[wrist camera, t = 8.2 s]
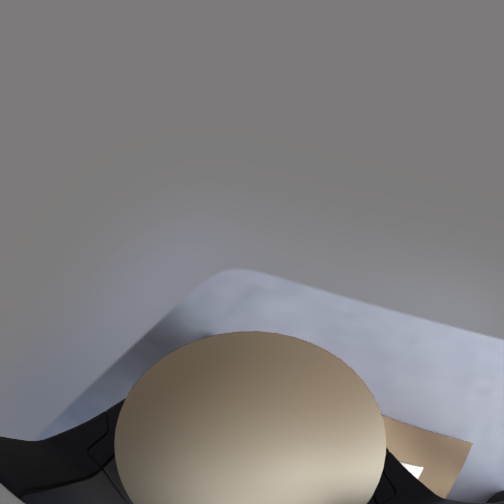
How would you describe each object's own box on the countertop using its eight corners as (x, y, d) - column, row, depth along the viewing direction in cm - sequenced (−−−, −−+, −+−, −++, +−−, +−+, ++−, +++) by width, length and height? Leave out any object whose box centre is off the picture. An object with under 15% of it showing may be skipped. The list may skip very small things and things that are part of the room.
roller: (295, 444, 12) (385, 532, 3) (207, 451, 12) (137, 552, 2) (287, 365, 14) (369, 315, 5) (200, 371, 14) (109, 334, 4)
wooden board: (393, 557, 8) (400, 563, 7) (136, 475, 13) (128, 481, 11) (466, 435, 13) (477, 436, 12) (226, 333, 18) (225, 329, 16)
